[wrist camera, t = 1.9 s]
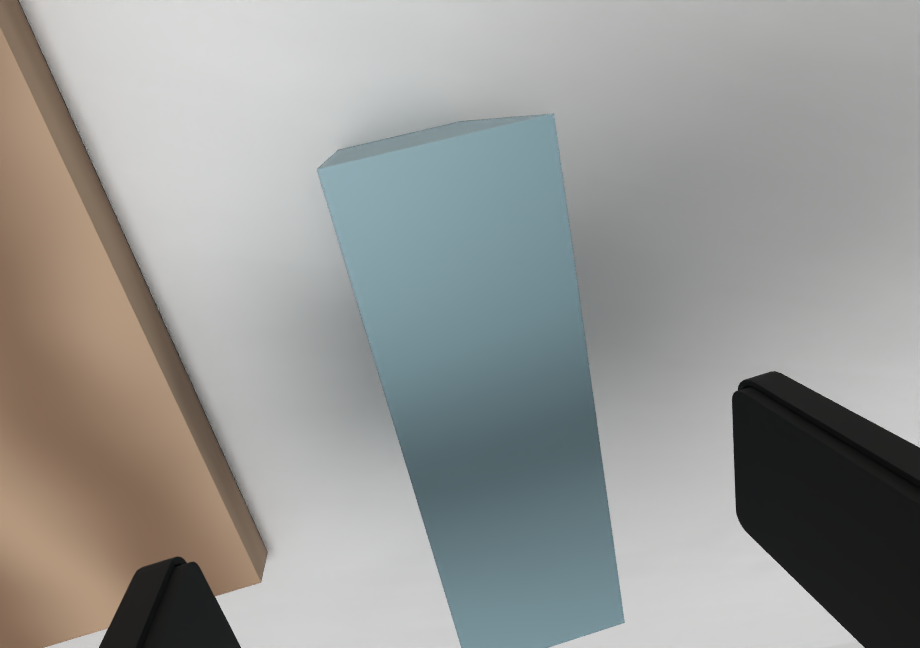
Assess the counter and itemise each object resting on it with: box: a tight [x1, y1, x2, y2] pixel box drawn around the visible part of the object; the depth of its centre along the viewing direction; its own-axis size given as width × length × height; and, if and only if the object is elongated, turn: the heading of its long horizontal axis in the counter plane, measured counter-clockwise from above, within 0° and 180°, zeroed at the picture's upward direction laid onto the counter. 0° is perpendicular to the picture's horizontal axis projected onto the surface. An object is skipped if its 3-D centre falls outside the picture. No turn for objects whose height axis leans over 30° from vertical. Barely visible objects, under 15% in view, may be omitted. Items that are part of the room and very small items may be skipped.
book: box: [317, 114, 625, 648], centre depth 15 cm, size 4×12×9 cm, turn 13°
